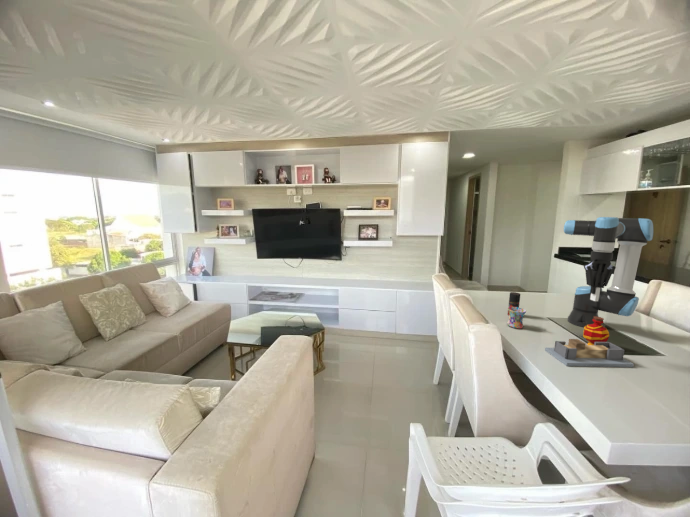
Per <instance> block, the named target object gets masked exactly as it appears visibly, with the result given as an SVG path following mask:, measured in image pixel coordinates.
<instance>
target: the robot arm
mask: <svg viewBox="0 0 690 517" xmlns="http://www.w3.org/2000/svg"><path fill="white" fill-rule="evenodd" d="M563 232H564V234H565V235H571V236H589V237H590V236H591V237H593V238H592V245H591V251H590V262H589V263H588V264H585V265H583V269H584V270H585V282H586V285H582V286H577V288H575V292H574V299H573V306H572V310H571V311H570V314H569V315H568V316H567V322H569V324H572V325H573V326H574V325H575V326H576V327H577V326H578V327H582V328H584V327H585V326H587V325H589V324H594V322H593V319H594V317H593V316H597V317H599V311H600V312H604V313H609V314H614V315H618V316H622V317H623V316H624V317H630V316H632V315H633V314H634V313H635V310H636V309H637V306H638V305H639V300H640V298H639V297H638V296H636V295H637V294H636V292H635V291H634V290H633V289H634V285H635V280H636V275H637V270H638V266H639V262H640V257H641V253H642V249H643V246H646V245H647V244H648V242H650V241H652V240H653V237H654V223H653V220H651V219H650V218H643V217H642V218H640V217H638V218H636V217H633V218H632V217H626V218H625V217H616V216H599V217H596V219H594V220H583V219H582V220H581V219H569V220H566V221H565V223H564V225H563ZM616 239H617V240H616ZM616 243H617V244H619V249H618V251H617V252H618V253H617V259H616V263H615V266H614V265H612V263H611V262H612V260H613V257H614V252H613V251H615V245H616ZM612 275H613V276H612ZM611 277H612V281H611V286H610V287H608V288H606V291H605V290H603V289H604V288H605V287H607V286H608V284H609V282H610V279H611Z"/></svg>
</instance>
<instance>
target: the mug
mask: <svg viewBox="0 0 690 517" xmlns="http://www.w3.org/2000/svg"><path fill="white" fill-rule="evenodd" d="M508 311H509V317H508V321H507V322H506V325H507V326H508V327H510V328H513V329H523V328H524V324H523V319H524V316H525V314H526V313H527V310H526V309H524V308H522V307H519V308H518V307H507V312H508Z"/></svg>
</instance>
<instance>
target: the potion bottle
mask: <svg viewBox="0 0 690 517" xmlns="http://www.w3.org/2000/svg"><path fill="white" fill-rule="evenodd" d="M593 317H594V319H593V322H594V324H589V325H587V326H585V327H583V333H582V336H583V338H584V339H585V340H586V341H587V344H586V345H594V343H595V342H608V340H609V339H610V338H609V337H610V332H609V330H608V329H607V327H605V326H604V325H603V324H604V320H605V319H604V317H601V316H598V317H597V316H593Z"/></svg>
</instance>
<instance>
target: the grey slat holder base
mask: <svg viewBox="0 0 690 517" xmlns="http://www.w3.org/2000/svg"><path fill="white" fill-rule="evenodd" d="M554 342H555V343H554V347H544V351H545V352H546V353H548V354H549V355H551V356H552V357H553V358H554V359H556V360H557V361H559V363H561V364H563V365H564V366H566V367H597V368H598V367H599V368H600V367H601V368H602V367H603V368H604V367H605V368H608V367H609V368H634V363H632V362H631V361H629V360H627V359H625V358H624V355H625V349H624V348H622V347H620V346H618V345H616V344H614V343H612V342H610V341H607V342H595V343H594V345H603V346H605V347H606V348H608V350H607V355H606V358H576V354H577V349H576V348H567V347H565V346H564V345H567V342H566V341H564V340H563V341H562V340H555V341H554Z"/></svg>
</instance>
